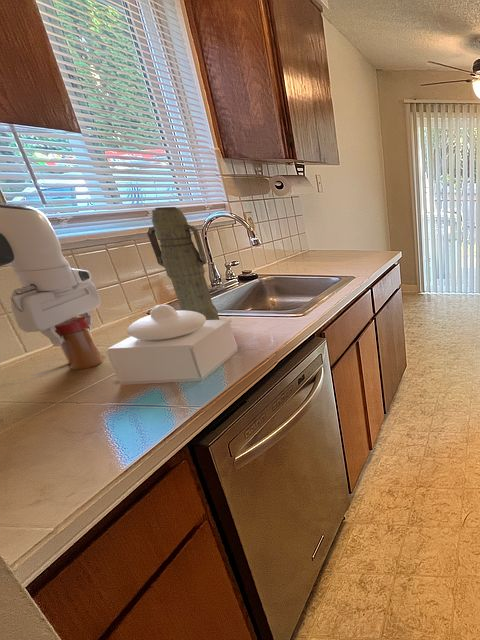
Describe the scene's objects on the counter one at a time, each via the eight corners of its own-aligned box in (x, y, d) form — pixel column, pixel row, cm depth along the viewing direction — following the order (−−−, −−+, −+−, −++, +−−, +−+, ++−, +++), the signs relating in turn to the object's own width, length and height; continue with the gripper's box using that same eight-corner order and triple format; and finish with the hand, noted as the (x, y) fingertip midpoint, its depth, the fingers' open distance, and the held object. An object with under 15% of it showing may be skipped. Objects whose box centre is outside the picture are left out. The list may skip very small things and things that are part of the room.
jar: (65, 367, 98) (45, 327, 93) (93, 358, 103) (76, 319, 98) (80, 371, 96) (60, 330, 91) (108, 361, 101) (91, 321, 96)
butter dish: (168, 353, 104) (147, 294, 98) (240, 350, 106) (223, 292, 99) (120, 385, 89) (90, 317, 82) (204, 380, 90) (181, 313, 83)
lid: (96, 325, 97) (93, 318, 96) (62, 334, 91) (59, 327, 91) (77, 322, 99) (74, 316, 98) (43, 332, 93) (40, 324, 93)
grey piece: (187, 329, 122) (146, 207, 107) (230, 325, 125) (196, 206, 110) (176, 339, 114) (130, 209, 99) (223, 335, 117) (184, 207, 102)
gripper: (25, 290, 82) (56, 352, 87) (94, 270, 100) (116, 322, 106) (-11, 292, 81) (22, 354, 86) (66, 271, 99) (89, 324, 105)
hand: (74, 336), depth 96 cm, fingers open, 8 cm apart
